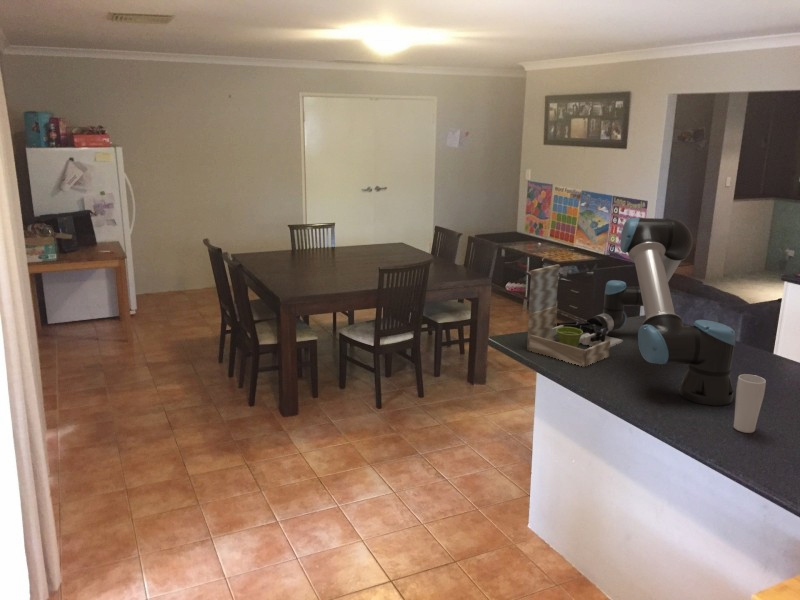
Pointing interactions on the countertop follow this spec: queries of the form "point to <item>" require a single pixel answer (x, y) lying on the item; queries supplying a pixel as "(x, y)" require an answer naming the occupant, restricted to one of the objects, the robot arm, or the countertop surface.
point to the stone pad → (612, 340)
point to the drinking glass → (748, 402)
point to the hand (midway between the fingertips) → (568, 336)
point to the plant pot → (569, 335)
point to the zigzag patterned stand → (554, 322)
